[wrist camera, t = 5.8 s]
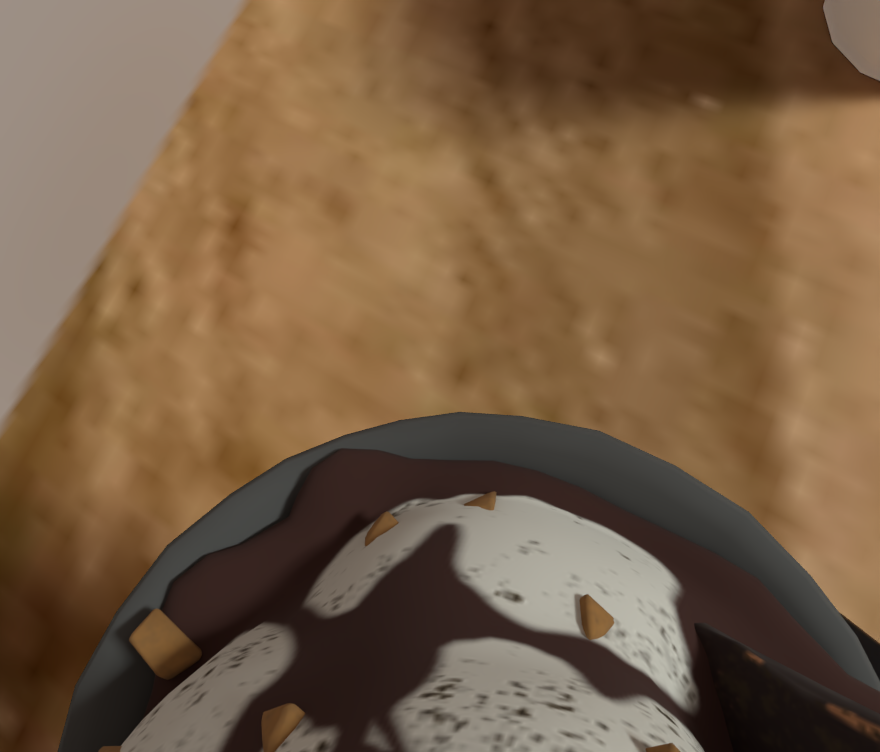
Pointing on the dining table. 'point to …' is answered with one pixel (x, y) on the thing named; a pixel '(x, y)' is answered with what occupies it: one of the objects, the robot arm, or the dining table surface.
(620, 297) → the dining table surface
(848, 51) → the foam cup
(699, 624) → the sundae
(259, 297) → the dining table surface
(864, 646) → the robot arm
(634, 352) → the dining table surface
